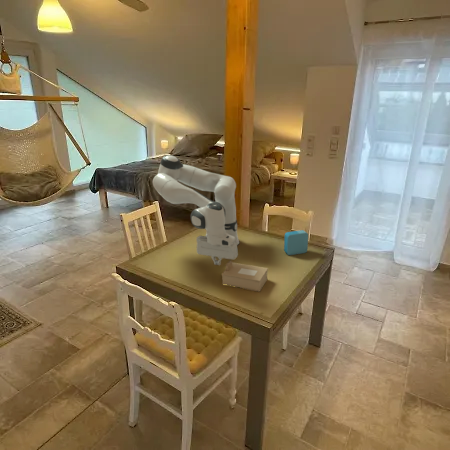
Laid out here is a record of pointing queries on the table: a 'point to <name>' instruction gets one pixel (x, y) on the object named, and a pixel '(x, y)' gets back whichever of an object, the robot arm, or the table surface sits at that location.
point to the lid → (244, 271)
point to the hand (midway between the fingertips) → (217, 264)
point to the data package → (296, 242)
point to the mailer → (245, 282)
